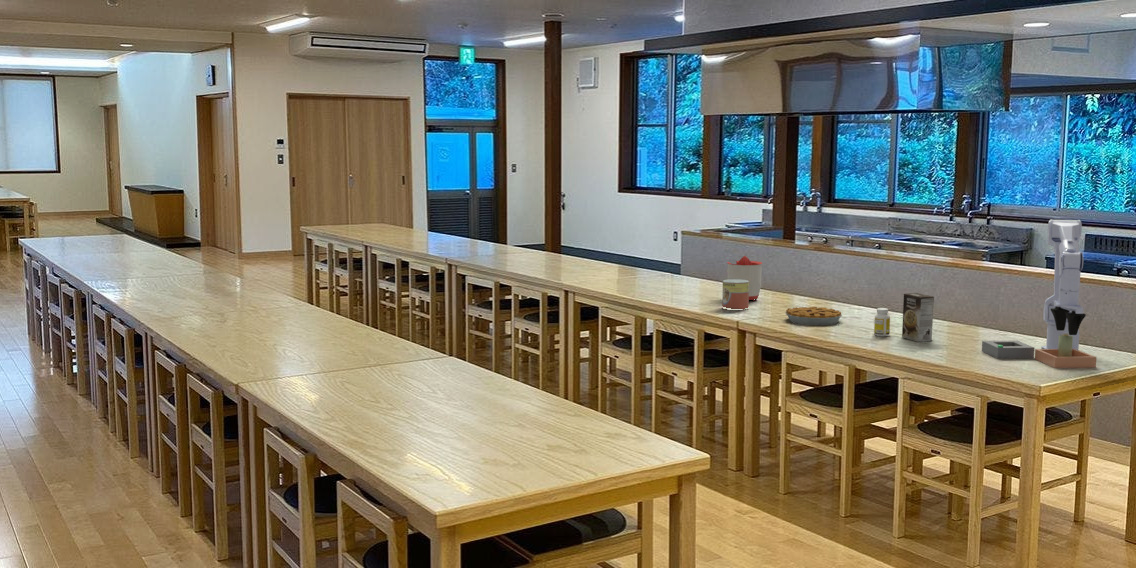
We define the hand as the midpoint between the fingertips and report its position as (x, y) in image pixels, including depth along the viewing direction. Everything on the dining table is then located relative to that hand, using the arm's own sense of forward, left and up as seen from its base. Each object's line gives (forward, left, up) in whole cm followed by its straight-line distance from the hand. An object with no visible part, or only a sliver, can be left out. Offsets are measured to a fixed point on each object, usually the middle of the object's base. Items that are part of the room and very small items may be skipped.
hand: (1066, 332), depth 320 cm
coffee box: (+32, -42, -10) cm, 54 cm away
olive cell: (0, 0, -9) cm, 9 cm away
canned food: (+84, -113, -10) cm, 141 cm away
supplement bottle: (+42, -50, -10) cm, 66 cm away
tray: (0, 0, -10) cm, 10 cm away
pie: (+59, -81, -10) cm, 101 cm away
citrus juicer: (+76, -138, -10) cm, 158 cm away
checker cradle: (+12, -14, -10) cm, 21 cm away
